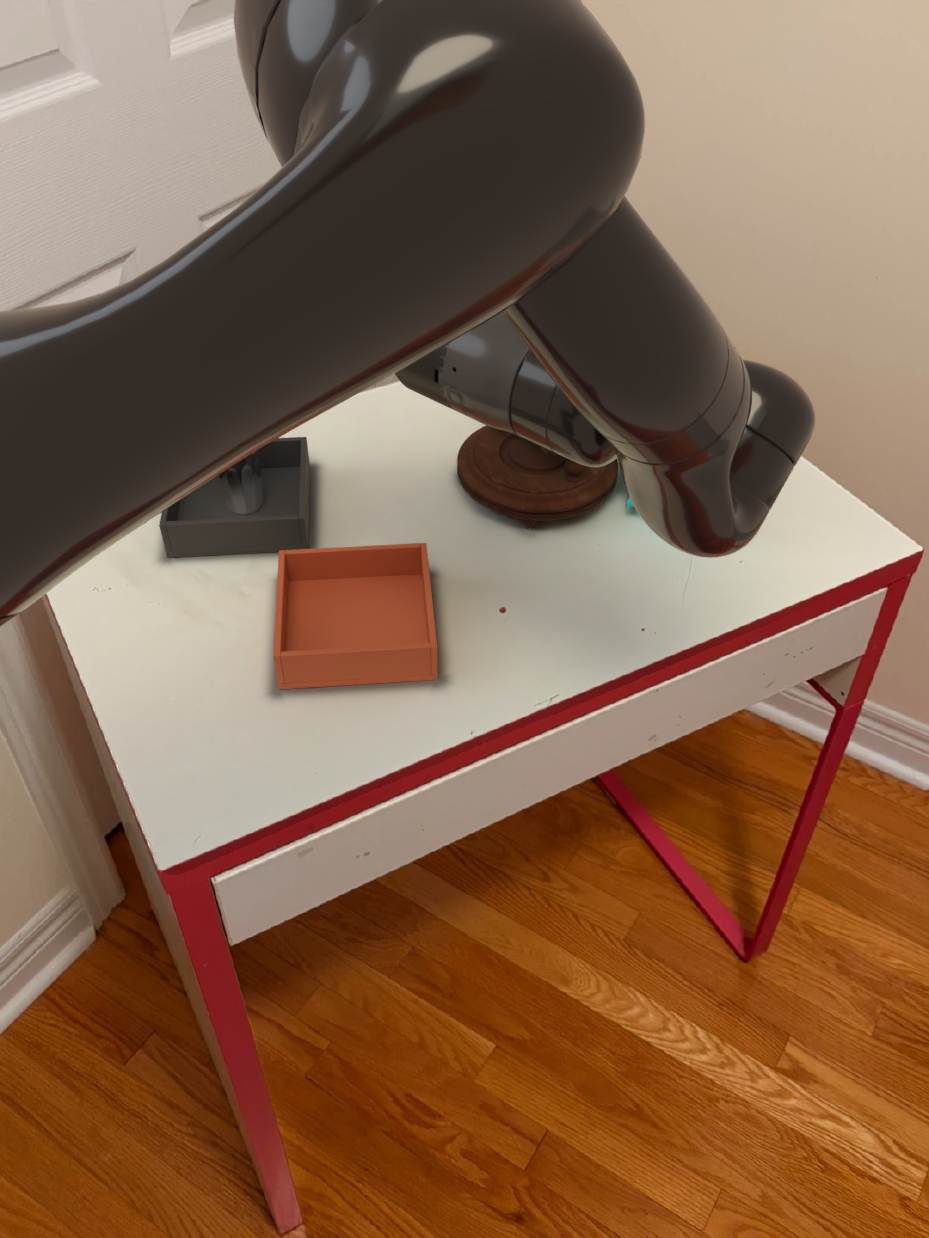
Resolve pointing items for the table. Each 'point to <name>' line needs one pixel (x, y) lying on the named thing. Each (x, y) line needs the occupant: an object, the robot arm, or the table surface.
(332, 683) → the terracotta bin
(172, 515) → the grey bin
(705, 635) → the table surface
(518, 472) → the wooden thread spool stand
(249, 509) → the milkshake
